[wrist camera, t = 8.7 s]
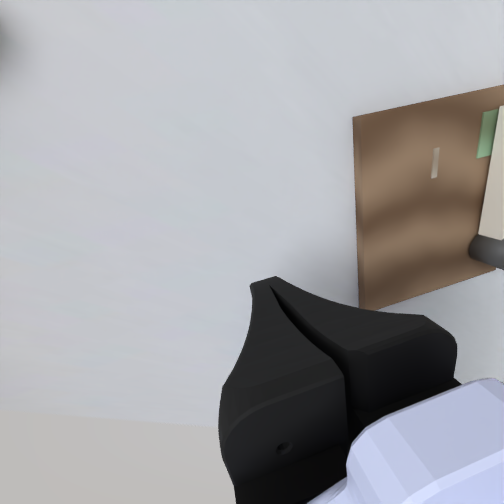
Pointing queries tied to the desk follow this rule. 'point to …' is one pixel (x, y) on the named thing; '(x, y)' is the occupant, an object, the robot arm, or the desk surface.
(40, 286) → the desk surface
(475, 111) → the board
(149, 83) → the desk surface
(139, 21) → the desk surface
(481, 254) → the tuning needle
